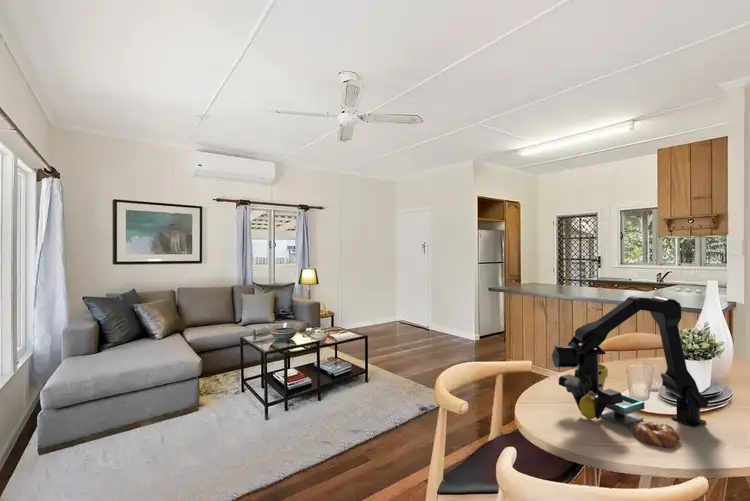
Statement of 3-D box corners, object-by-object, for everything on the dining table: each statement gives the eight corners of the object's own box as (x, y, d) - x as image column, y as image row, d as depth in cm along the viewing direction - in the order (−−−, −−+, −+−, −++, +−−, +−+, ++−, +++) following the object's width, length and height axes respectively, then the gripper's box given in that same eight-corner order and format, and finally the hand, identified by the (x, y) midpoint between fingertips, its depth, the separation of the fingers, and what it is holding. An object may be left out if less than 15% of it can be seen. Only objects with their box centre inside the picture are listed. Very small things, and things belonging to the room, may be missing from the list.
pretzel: (650, 426, 114) (649, 414, 114) (690, 443, 103) (690, 430, 103) (623, 433, 109) (623, 421, 109) (662, 453, 99) (662, 439, 99)
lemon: (602, 424, 115) (601, 399, 115) (583, 423, 116) (582, 398, 116) (595, 416, 120) (594, 392, 120) (577, 415, 121) (576, 391, 121)
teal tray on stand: (614, 409, 125) (614, 391, 125) (644, 421, 116) (644, 402, 116) (595, 414, 121) (595, 396, 121) (624, 428, 112) (624, 408, 112)
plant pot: (578, 383, 147) (578, 359, 147) (608, 389, 141) (608, 364, 141) (575, 392, 139) (574, 367, 139) (607, 398, 133) (606, 372, 133)
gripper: (546, 362, 123) (547, 408, 124) (598, 381, 106) (599, 433, 106) (569, 357, 127) (570, 401, 128) (623, 374, 110) (624, 425, 110)
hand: (589, 414), depth 118 cm, fingers closed on lemon, 5 cm apart
